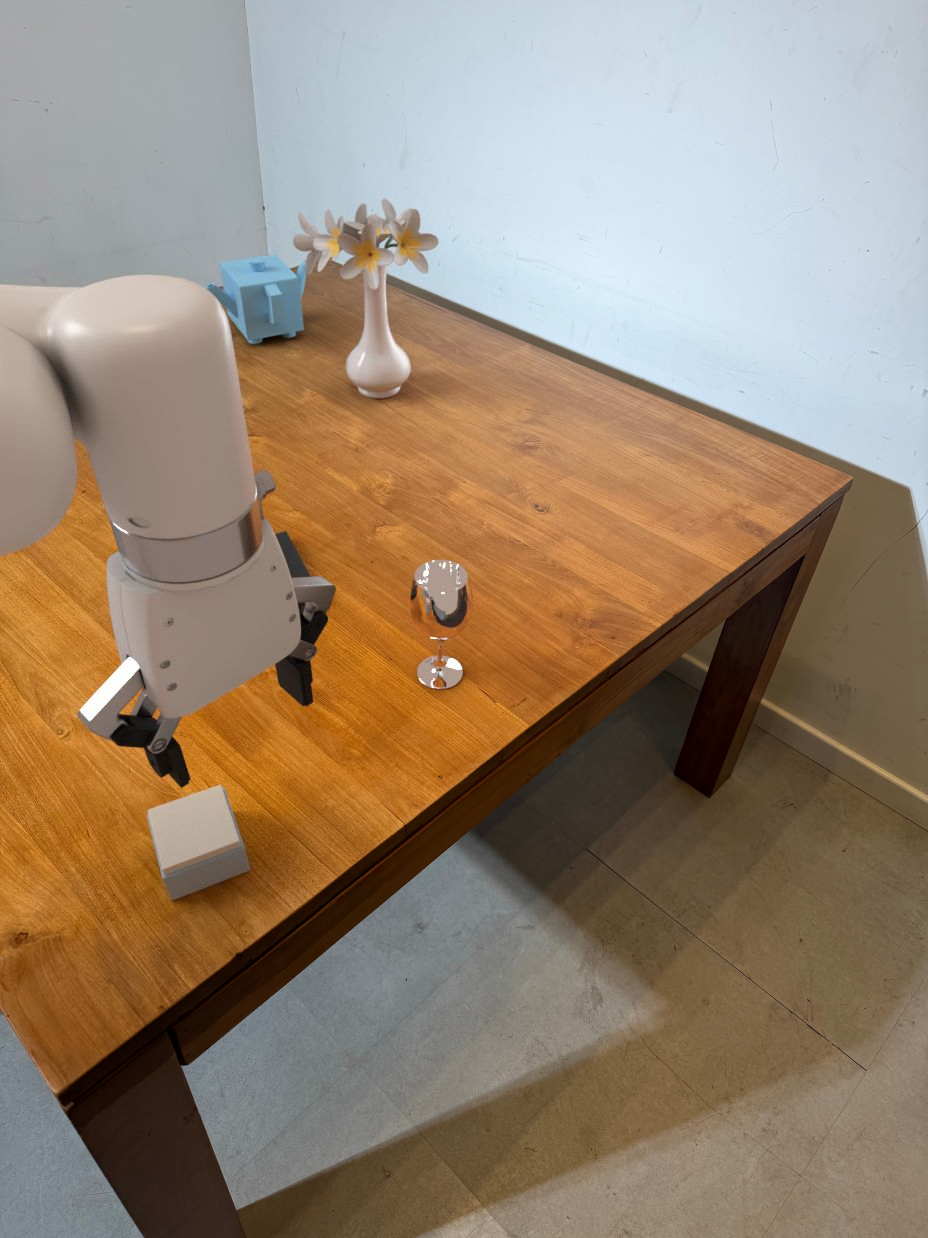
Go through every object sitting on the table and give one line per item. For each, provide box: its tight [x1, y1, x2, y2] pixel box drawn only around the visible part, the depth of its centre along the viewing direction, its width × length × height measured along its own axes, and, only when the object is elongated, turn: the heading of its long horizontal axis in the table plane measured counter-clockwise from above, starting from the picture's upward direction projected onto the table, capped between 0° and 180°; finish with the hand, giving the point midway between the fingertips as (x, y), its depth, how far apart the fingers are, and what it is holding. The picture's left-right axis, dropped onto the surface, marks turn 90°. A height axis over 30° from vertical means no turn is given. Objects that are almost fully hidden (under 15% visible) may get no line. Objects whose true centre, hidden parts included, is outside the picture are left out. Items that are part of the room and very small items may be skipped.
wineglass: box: [407, 559, 474, 690], centre depth 76 cm, size 6×6×12 cm
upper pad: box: [146, 784, 252, 901], centre depth 64 cm, size 6×6×4 cm
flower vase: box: [292, 197, 440, 400], centre depth 112 cm, size 13×18×25 cm
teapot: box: [204, 254, 308, 345], centre depth 130 cm, size 16×18×11 cm
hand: (237, 731), depth 56 cm, fingers open, 9 cm apart
